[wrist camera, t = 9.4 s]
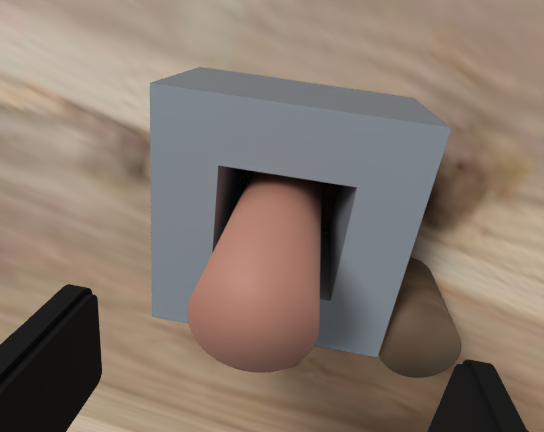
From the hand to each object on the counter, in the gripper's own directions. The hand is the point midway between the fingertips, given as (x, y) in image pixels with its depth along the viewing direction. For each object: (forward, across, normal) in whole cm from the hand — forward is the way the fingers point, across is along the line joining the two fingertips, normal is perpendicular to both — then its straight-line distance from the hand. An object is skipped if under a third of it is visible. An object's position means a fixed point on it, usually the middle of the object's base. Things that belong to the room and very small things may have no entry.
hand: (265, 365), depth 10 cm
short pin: (+12, -6, +4) cm, 14 cm away
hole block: (+12, 0, -1) cm, 12 cm away
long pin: (+12, +1, -1) cm, 12 cm away
